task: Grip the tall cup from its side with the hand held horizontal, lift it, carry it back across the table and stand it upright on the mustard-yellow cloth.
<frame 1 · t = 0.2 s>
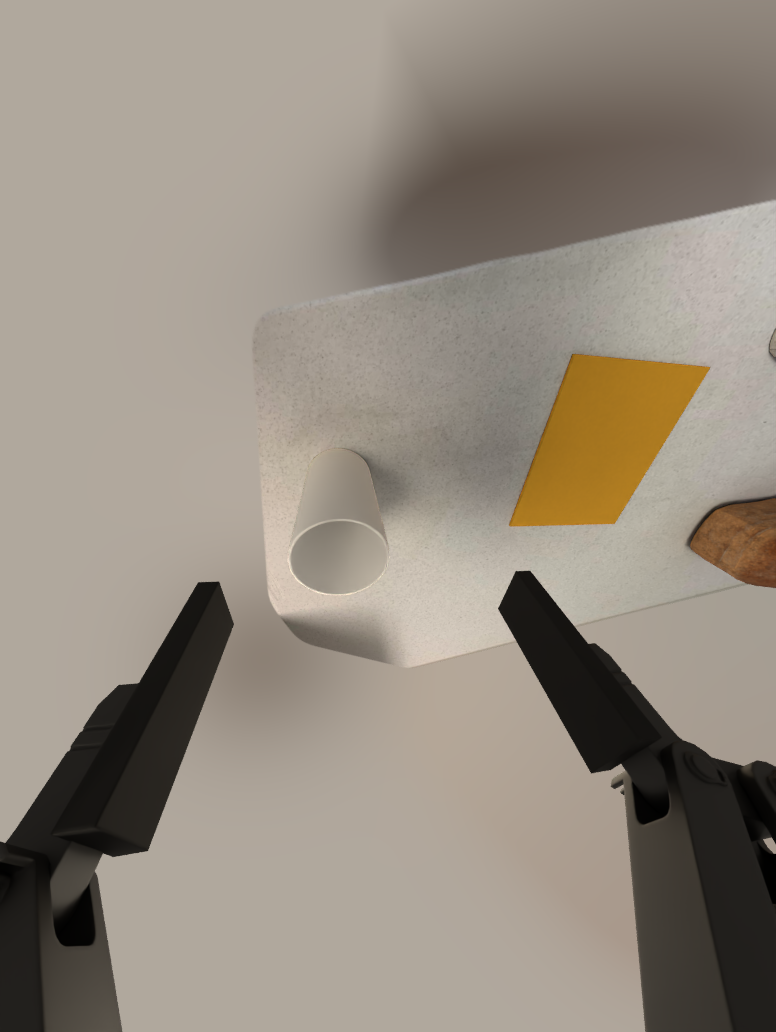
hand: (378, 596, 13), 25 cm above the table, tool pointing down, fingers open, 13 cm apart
bread: (750, 518, 53), on the table
cup: (339, 478, 36), on the table
cloth: (596, 455, 40), on the table
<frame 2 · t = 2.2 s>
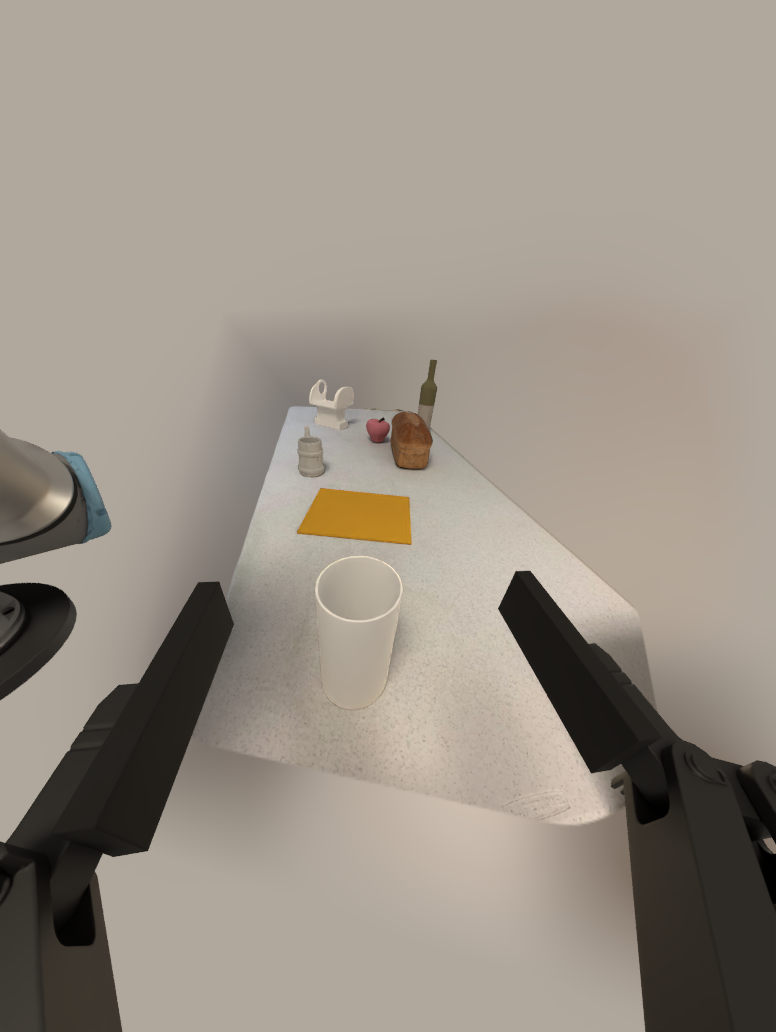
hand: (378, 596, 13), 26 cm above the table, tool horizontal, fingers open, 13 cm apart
bread: (406, 456, 101), on the table
apple: (377, 442, 112), on the table
mug: (310, 470, 84), on the table
cup: (354, 673, 35), on the table
cloth: (360, 513, 65), on the table
bottle: (422, 432, 131), on the table
tape dispenser: (332, 425, 126), on the table
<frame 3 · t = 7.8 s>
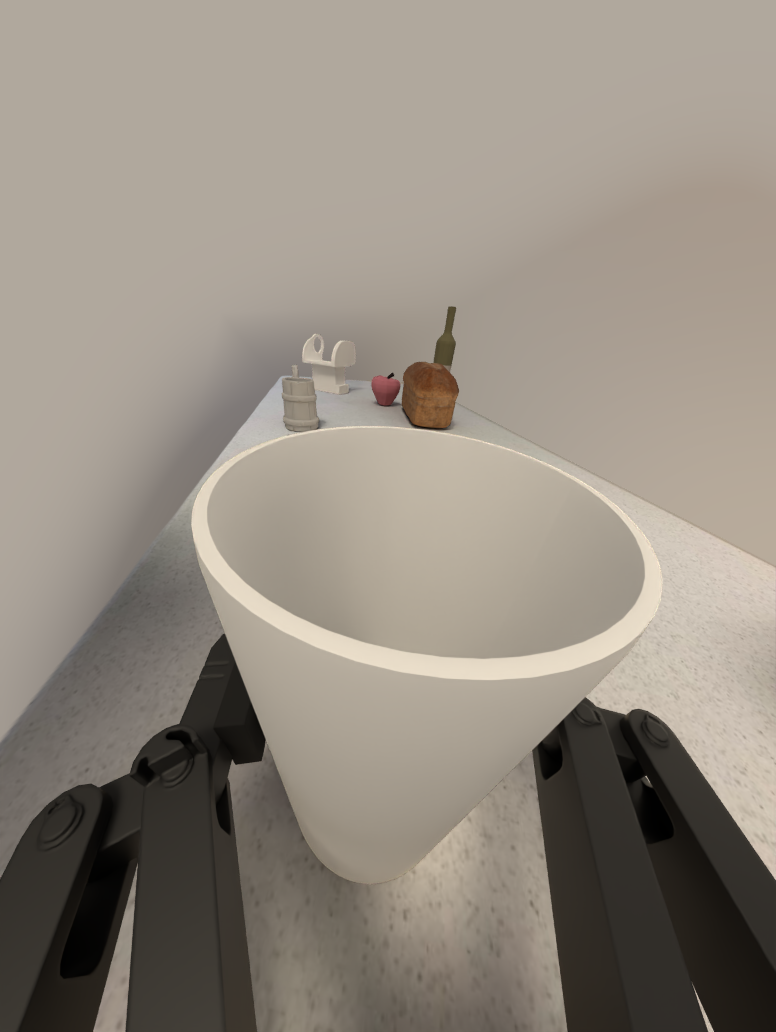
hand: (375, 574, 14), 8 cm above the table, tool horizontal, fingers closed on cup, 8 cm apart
bread: (422, 418, 81), on the table
apple: (384, 405, 92), on the table
mug: (301, 425, 64), on the table
cup: (373, 755, 15), on the table, touching gripper
bottle: (436, 400, 111), on the table
tape dispenser: (330, 391, 106), on the table
when the fingers open (9 cm above the table, at t = 18.5 s): cup stays where it is, resting on cloth.
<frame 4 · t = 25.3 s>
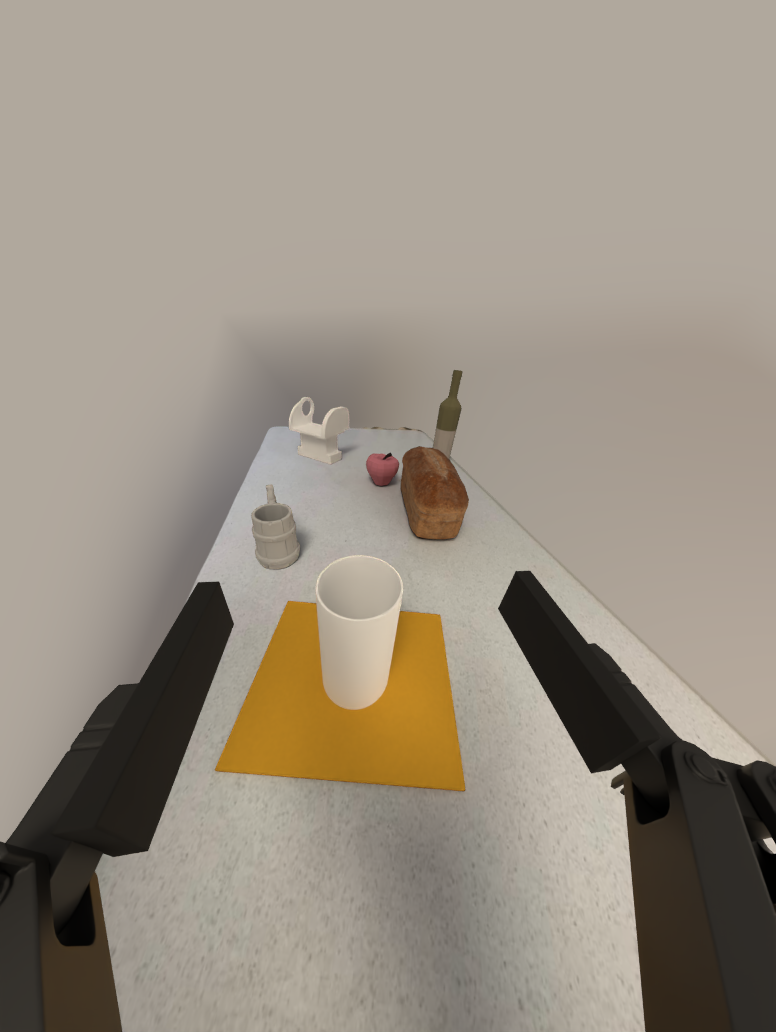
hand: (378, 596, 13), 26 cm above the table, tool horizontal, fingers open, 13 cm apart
bread: (424, 511, 70), on the table
apple: (381, 484, 81), on the table
mug: (278, 550, 53), on the table
cup: (355, 673, 34), resting on cloth
cloth: (355, 674, 35), on the table
bottle: (439, 463, 100), on the table
tape dispenser: (321, 456, 95), on the table
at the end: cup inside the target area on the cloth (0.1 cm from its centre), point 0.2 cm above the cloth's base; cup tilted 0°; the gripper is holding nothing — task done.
